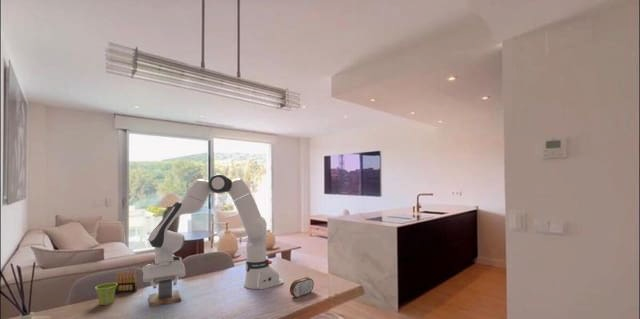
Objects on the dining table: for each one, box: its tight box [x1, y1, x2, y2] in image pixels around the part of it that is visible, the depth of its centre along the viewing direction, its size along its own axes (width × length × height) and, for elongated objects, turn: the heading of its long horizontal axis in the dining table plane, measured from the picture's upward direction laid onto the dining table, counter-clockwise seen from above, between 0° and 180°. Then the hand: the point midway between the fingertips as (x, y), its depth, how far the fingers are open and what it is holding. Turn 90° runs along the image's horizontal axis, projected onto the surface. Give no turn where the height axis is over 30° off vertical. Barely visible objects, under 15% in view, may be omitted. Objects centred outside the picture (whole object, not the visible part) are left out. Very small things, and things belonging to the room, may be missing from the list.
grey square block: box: [157, 278, 173, 299], centre depth 168 cm, size 6×6×8 cm
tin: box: [289, 276, 315, 298], centre depth 172 cm, size 15×3×8 cm, turn 134°
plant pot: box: [94, 282, 118, 306], centre depth 164 cm, size 9×9×9 cm
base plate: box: [148, 289, 182, 308], centre depth 168 cm, size 14×14×2 cm
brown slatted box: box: [115, 269, 138, 294], centre depth 180 cm, size 11×2×12 cm, turn 99°
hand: (165, 286), depth 168 cm, fingers open, 8 cm apart
